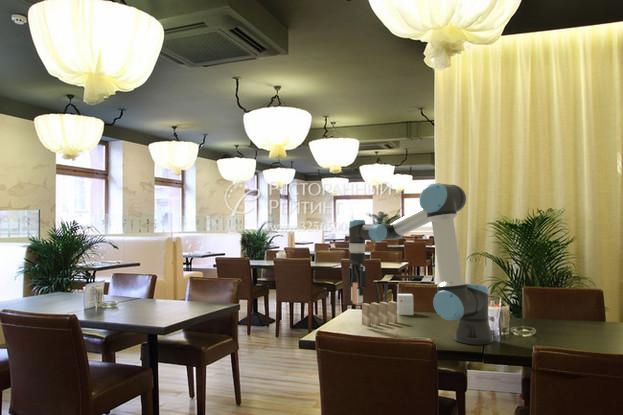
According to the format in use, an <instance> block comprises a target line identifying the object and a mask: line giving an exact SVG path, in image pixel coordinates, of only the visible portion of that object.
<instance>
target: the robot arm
mask: <svg viewBox="0 0 623 415" xmlns="http://www.w3.org/2000/svg"><path fill="white" fill-rule="evenodd" d="M466 202H467V194H466V193H465V191H464V190H463V188H462V187H461V186H459V185H456V184H446V183H440V182H439V183H429V184H428V185H426V186H425V187H424V188H423V189H422V191H421V193H420V195H419V206H420V208H418V209H415V210H413V211H411V212H409V213H407V214H406V215H404V216H402V217H399V218H398V219H396V220H394V221H392V222H390V223H384V224H383V223H382V224H379V223H378V224H377V223H376V224H375V223H374V224H373V223H372V224H371V223H369V224H367V223H366V220H365V219H350V221H349V223H348V224H349V227H348V233H349V234H348V235H349V236H348V241H349V242H348V252H349V253H348V260H349V261H351V263H349V264H347V268H348V285H349V286H350V301H351V302H353V282H358V288H357V303H361V302H362V303H363V302H364V289H365V288H367V266H364V264H363V263H364V262H363V261H366V253H365V252H366V241H372V242H373V241H375V242H380V241H396V240H400V239H401V238H403V236H404V235H405V234H408V233H410V232H412V231H414V230H416V229H418V228H421V227H422V226H425V225H427V224H428V223H431V225H432V232H433V240H434V247H435V254H436V261H437V262H436V263H437V269H438V277H439V282H438V284H437V285H436V292H437V293H435V294H434V297H433V299H432V300H433V302H432V304H433V307H434V308H433V309H434V310H435V312H436V314H437V315H438V316H440V317H441V318H442V319H443V320H447V321H457V320H458V321H457V326H456V328H455V332H454V338H453V339H454V341H455V342H458V343H461V344H465V345H466V344H468V345H479V346H481V345H490V344H493V342H494V335H493V333H492V330H491V327H490V324H489V288H488V286H486V285H482V284H481V285H480V284H473V283H472V284H471V283H467V282H466V281H465V280H463V277H462V276H463V275H462V268H461V260H460V255H459V254H460V253H459V248H458V241H457V240H458V239H457V235H456V234H457V233H456V227H455V221H454V220H455V218H456V217H457V213H458V212H459V211H461V210H462V209H464V207H465V205H466V204H467V203H466ZM362 303H361V304H362Z"/></svg>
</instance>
